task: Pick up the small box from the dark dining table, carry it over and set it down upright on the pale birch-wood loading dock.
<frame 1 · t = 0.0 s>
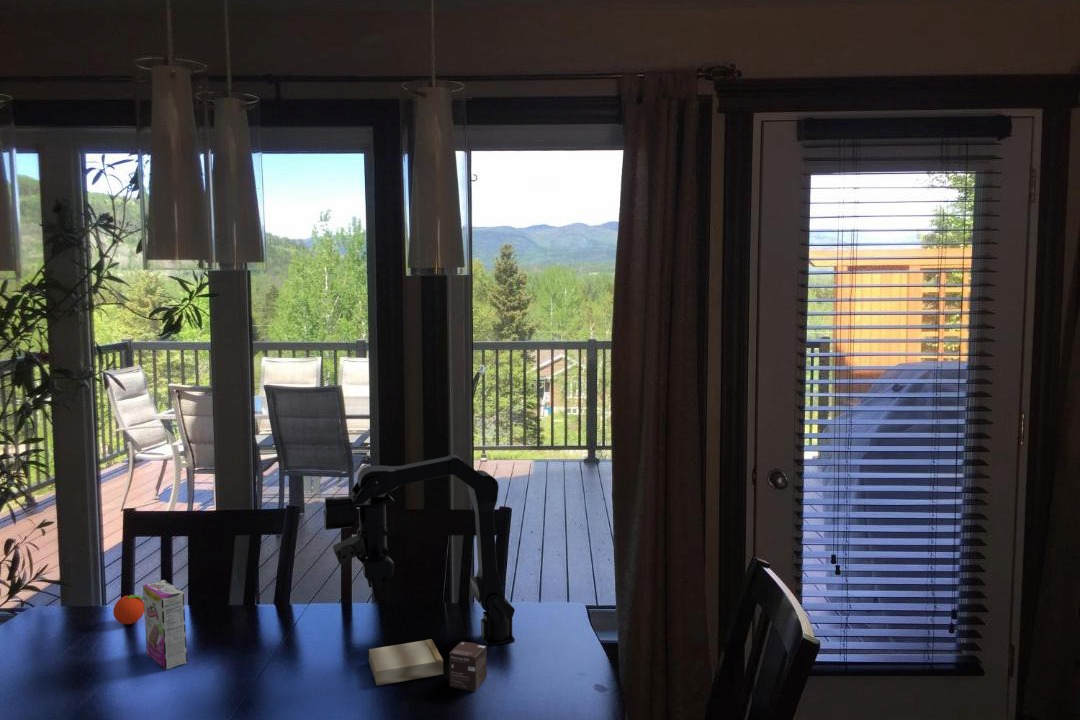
hand: (374, 594, 171), 15 cm above the table, tool pointing down, fingers open, 9 cm apart
dock: (405, 668, 168), on the table
clementine: (132, 623, 192), on the table
candy bar box: (166, 660, 173), on the table
box: (468, 683, 161), on the table
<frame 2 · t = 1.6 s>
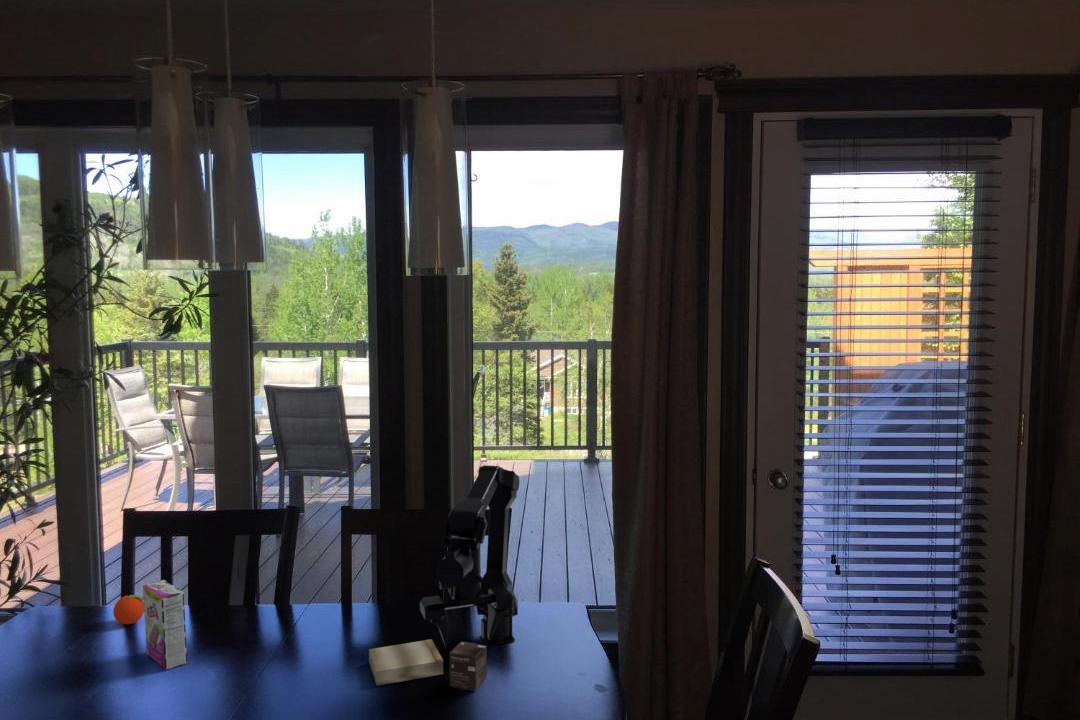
hand: (467, 642, 161), 8 cm above the table, tool pointing down, fingers open, 9 cm apart
nothing on the table moved.
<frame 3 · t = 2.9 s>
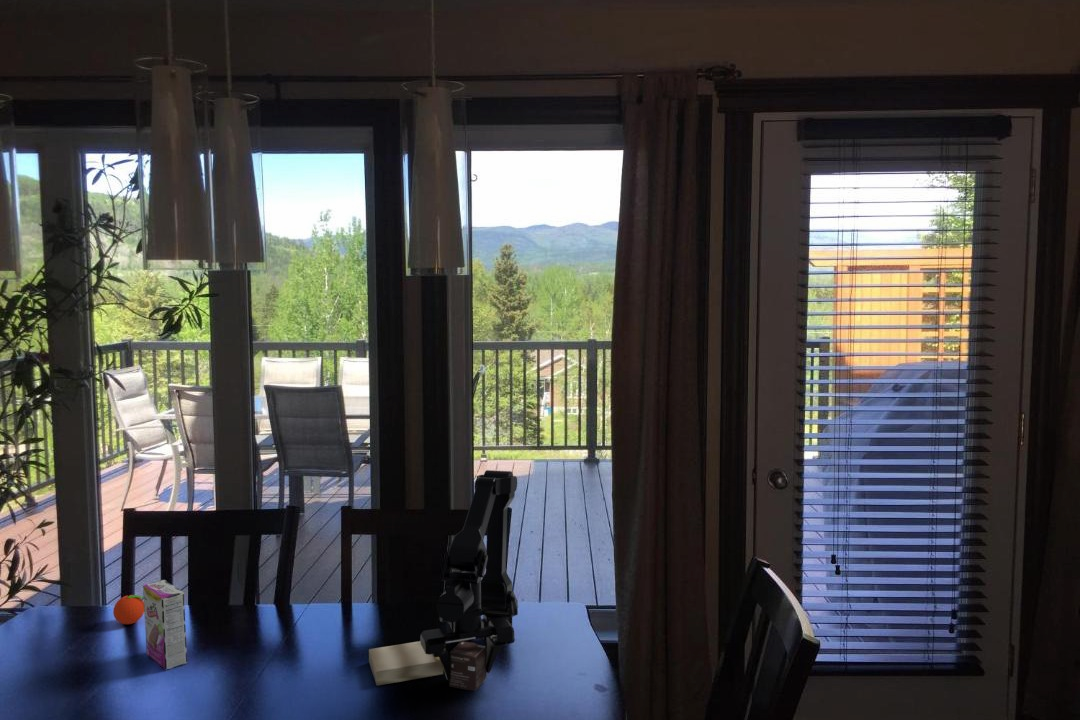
hand: (468, 675, 161), 2 cm above the table, tool pointing down, fingers closed on box, 8 cm apart
box: (468, 683, 161), on the table, touching gripper
everything else where it was.
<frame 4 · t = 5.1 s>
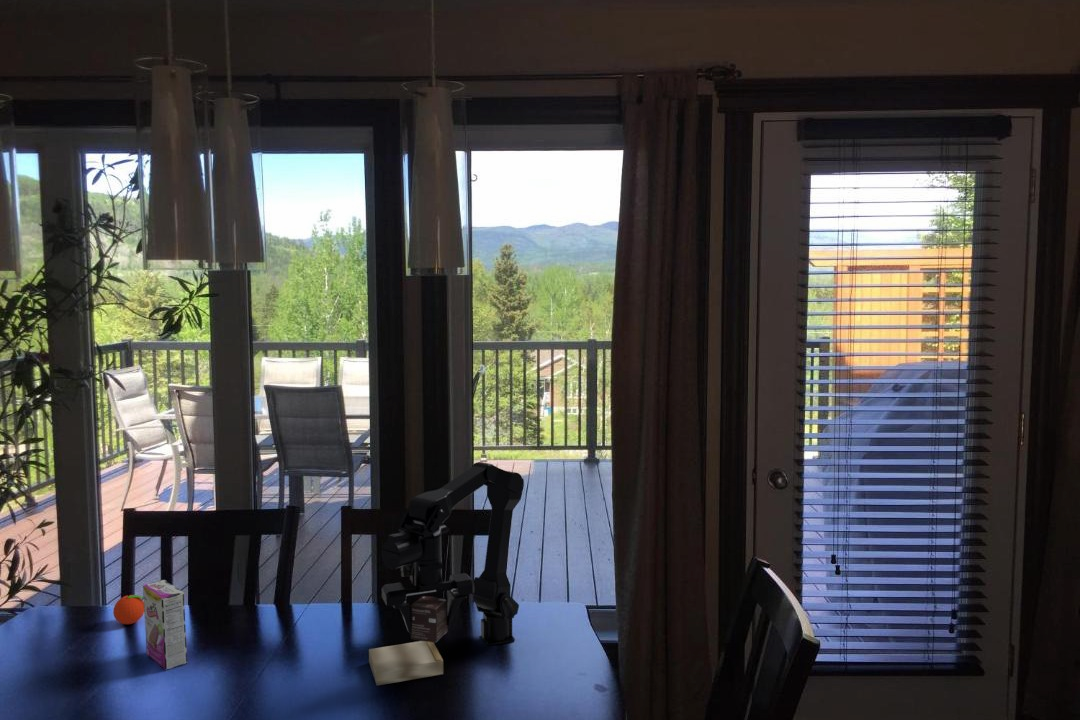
hand: (429, 628, 164), 10 cm above the table, tool pointing down, fingers closed on box, 8 cm apart
box: (429, 636, 165), point 8 cm above the table, touching gripper
everything else where it was.
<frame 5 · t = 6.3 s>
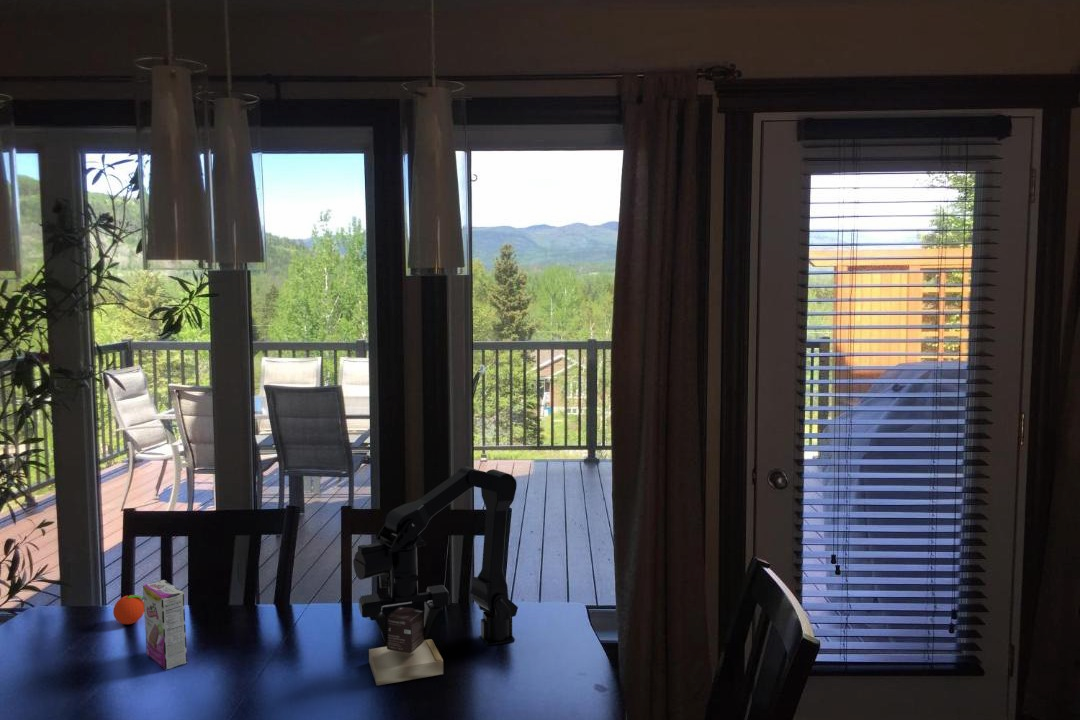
hand: (405, 639, 168), 6 cm above the table, tool pointing down, fingers closed on box, 8 cm apart
box: (405, 647, 168), point 5 cm above the table, touching gripper
everything else where it was.
when the fingers open (6 cm above the table, at t = 7.4 s): box drops 1 cm, resting on dock.
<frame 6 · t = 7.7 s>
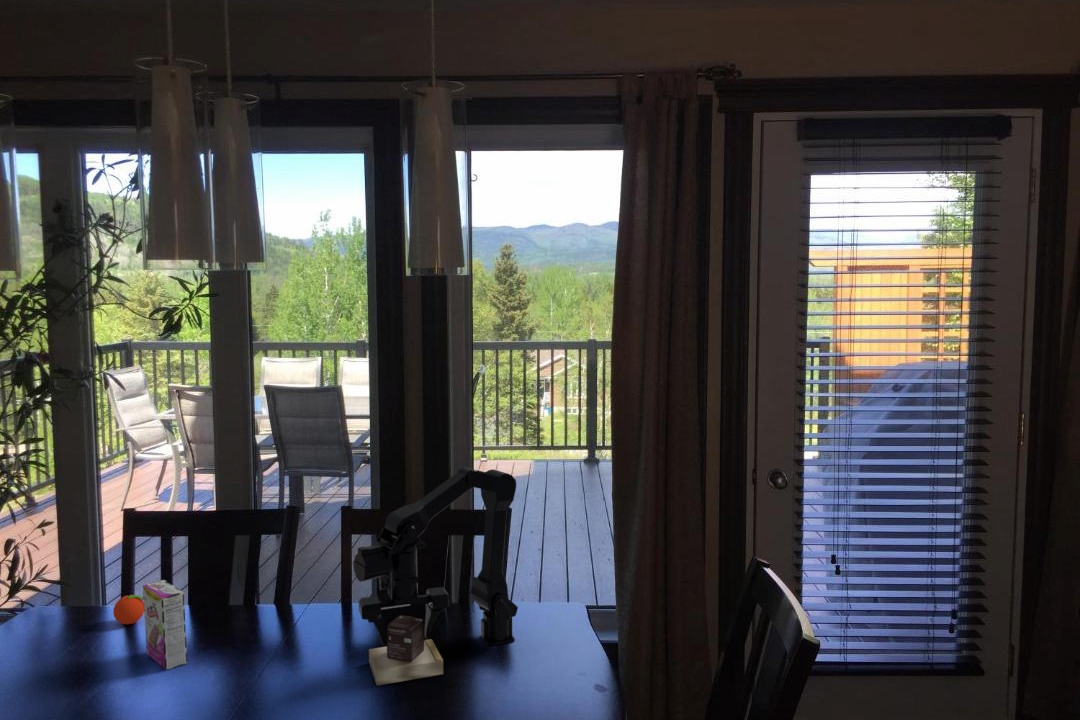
hand: (405, 641, 167), 6 cm above the table, tool pointing down, fingers open, 9 cm apart
box: (405, 655, 168), point 3 cm above the table, touching dock
everything else where it was.
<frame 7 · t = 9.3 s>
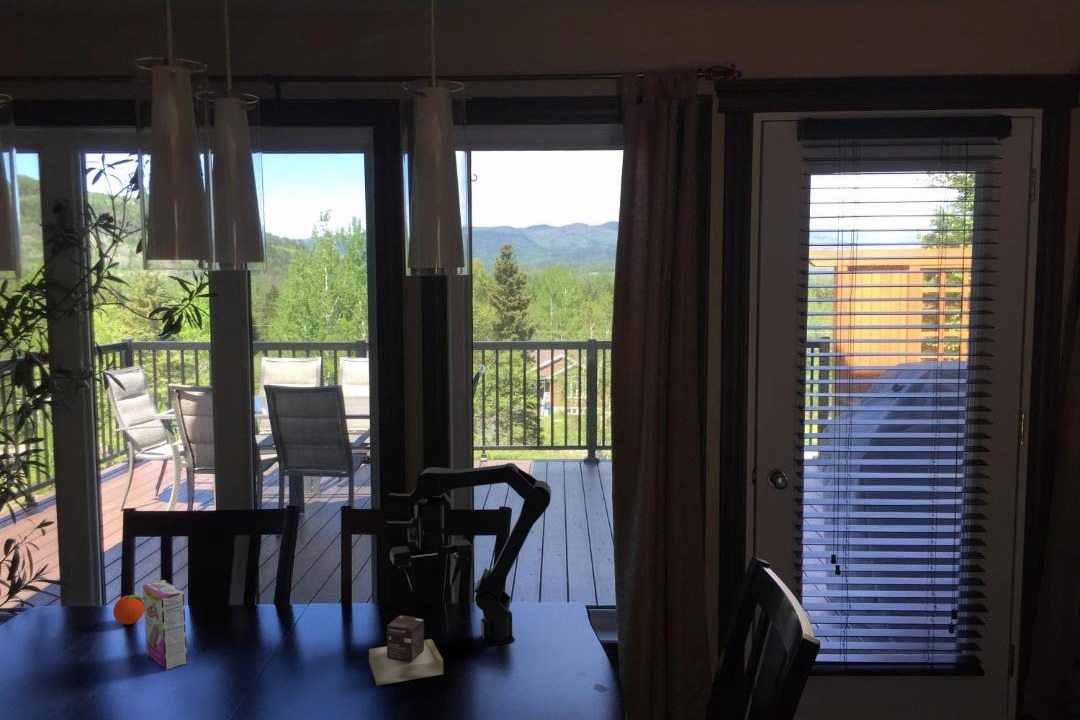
hand: (432, 588, 182), 12 cm above the table, tool pointing down, fingers open, 9 cm apart
nothing on the table moved.
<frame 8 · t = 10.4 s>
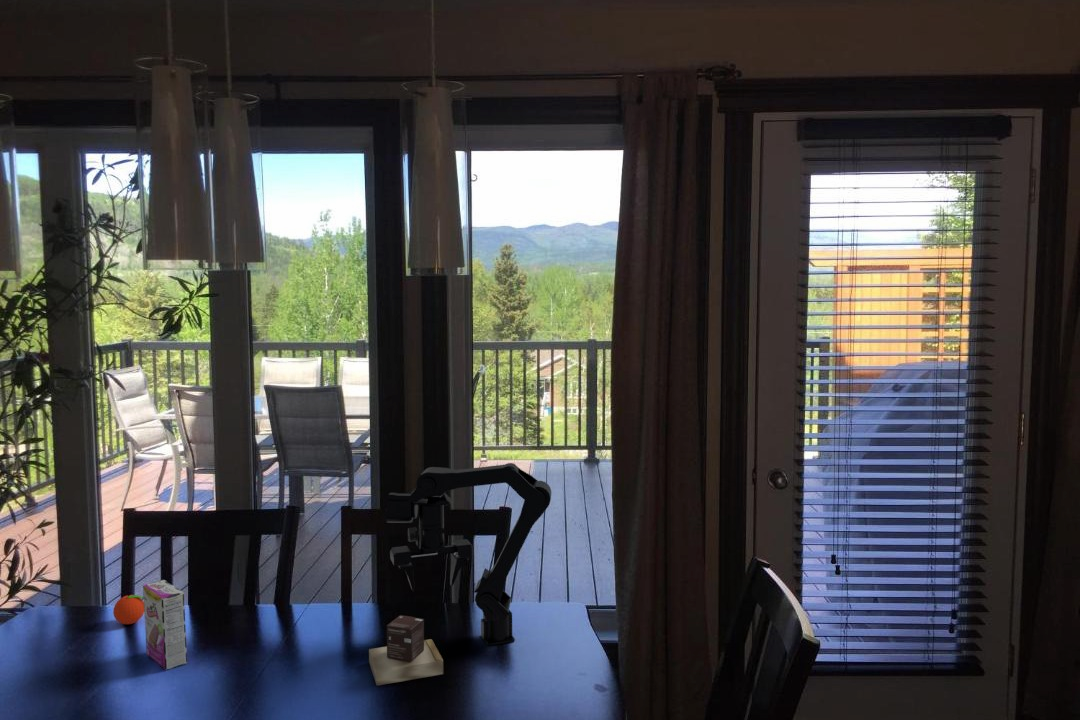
hand: (432, 587, 182), 12 cm above the table, tool pointing down, fingers open, 9 cm apart
nothing on the table moved.
at the end: box inside the target area on the dock (0.1 cm from its centre), point 2.8 cm above the dock's base; box tilted 0°; box touching dock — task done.
